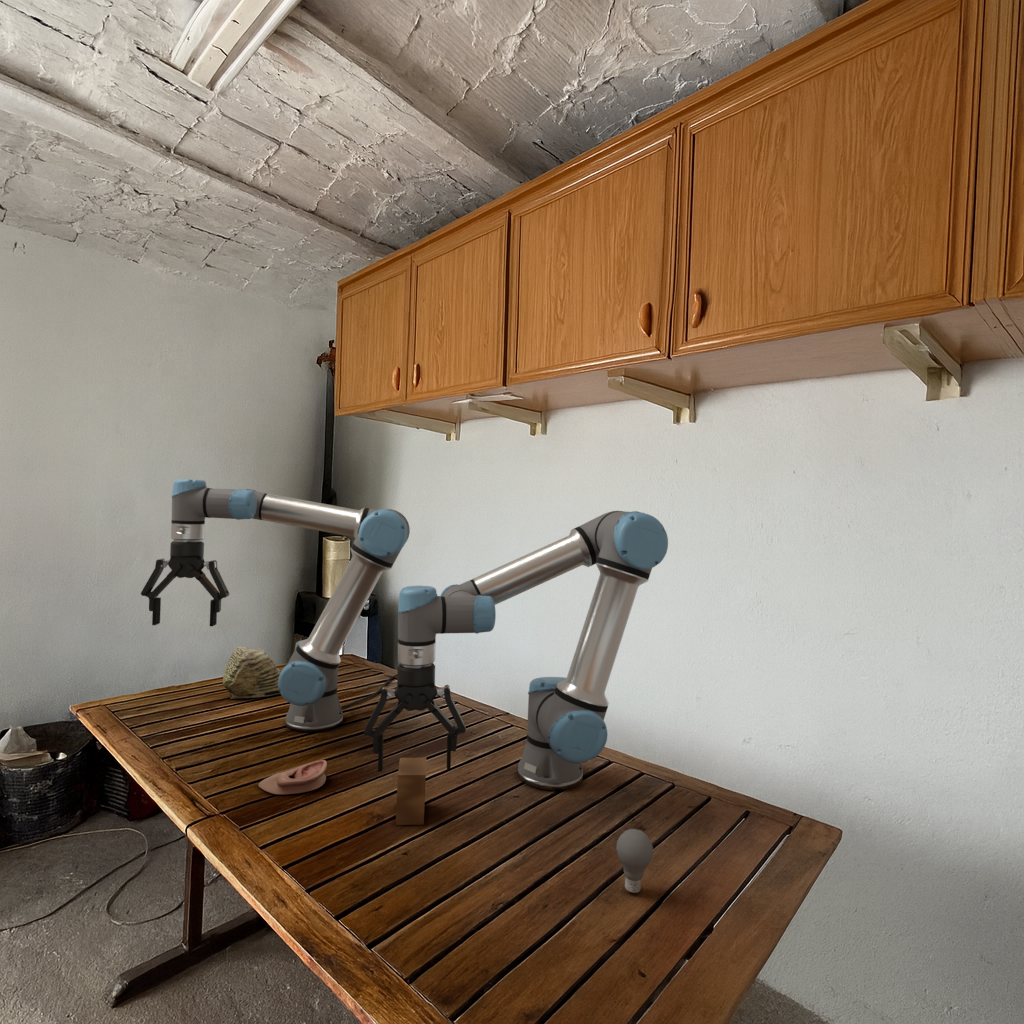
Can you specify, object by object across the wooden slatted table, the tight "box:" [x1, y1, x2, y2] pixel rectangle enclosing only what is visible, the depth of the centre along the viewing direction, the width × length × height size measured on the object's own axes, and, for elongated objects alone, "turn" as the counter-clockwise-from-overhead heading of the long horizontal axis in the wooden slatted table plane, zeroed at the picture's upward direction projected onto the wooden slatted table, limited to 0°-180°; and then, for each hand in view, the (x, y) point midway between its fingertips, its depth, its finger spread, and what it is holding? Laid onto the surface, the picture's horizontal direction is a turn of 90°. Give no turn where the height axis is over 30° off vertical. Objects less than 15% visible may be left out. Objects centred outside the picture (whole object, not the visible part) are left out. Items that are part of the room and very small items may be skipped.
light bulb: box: [615, 828, 654, 894], centre depth 106 cm, size 6×6×10 cm
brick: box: [395, 757, 427, 826], centre depth 128 cm, size 5×8×10 cm, turn 7°
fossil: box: [222, 646, 281, 699], centre depth 198 cm, size 9×18×15 cm, turn 132°
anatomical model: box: [257, 759, 328, 795], centre depth 139 cm, size 13×4×12 cm
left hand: (184, 624), depth 159 cm, fingers open, 13 cm apart
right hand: (414, 768), depth 128 cm, fingers open, 13 cm apart
